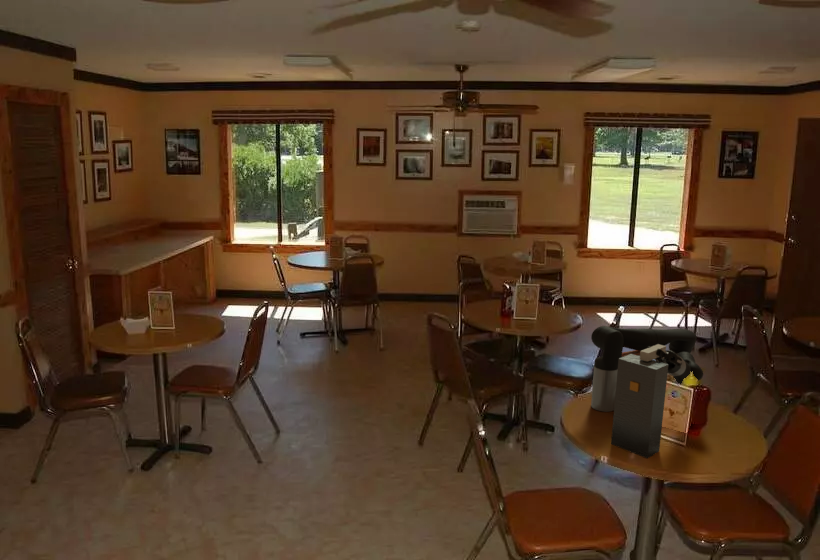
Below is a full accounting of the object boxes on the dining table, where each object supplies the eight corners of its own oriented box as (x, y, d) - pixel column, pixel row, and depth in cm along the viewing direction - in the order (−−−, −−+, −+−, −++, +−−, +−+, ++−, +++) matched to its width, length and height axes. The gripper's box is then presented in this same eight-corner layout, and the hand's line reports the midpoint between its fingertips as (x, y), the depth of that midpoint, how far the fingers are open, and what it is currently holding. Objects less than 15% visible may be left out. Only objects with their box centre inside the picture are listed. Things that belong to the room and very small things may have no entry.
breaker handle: (657, 352, 235) (658, 344, 234) (665, 354, 233) (666, 346, 232) (639, 359, 227) (640, 351, 226) (647, 361, 225) (648, 353, 224)
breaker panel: (623, 437, 241) (630, 353, 234) (659, 451, 230) (668, 364, 223) (610, 444, 235) (617, 358, 228) (646, 459, 225) (655, 370, 218)
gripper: (657, 349, 246) (637, 335, 235) (693, 358, 236) (675, 344, 224) (650, 367, 245) (630, 354, 234) (687, 378, 235) (668, 365, 223)
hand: (652, 350), depth 229 cm, fingers closed on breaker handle, 3 cm apart
